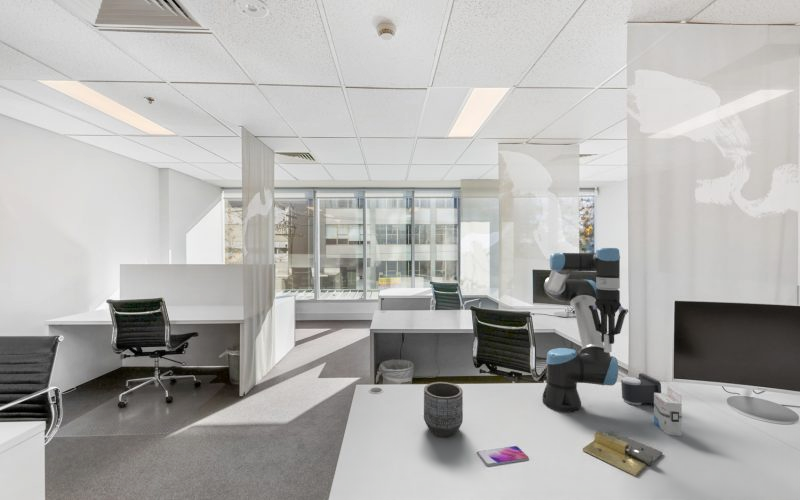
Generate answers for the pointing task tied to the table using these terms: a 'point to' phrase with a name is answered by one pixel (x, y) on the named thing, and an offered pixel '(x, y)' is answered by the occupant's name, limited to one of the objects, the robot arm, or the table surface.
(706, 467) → the table surface
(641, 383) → the light fixture
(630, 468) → the brass leaf
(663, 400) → the ink box
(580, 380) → the robot arm
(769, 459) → the table surface
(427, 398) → the planter
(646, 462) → the gunmetal leaf
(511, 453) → the smartphone
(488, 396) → the table surface
